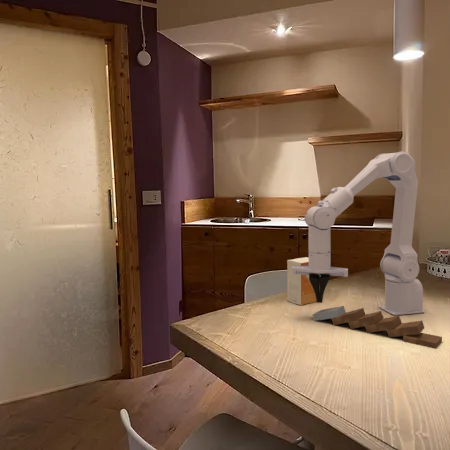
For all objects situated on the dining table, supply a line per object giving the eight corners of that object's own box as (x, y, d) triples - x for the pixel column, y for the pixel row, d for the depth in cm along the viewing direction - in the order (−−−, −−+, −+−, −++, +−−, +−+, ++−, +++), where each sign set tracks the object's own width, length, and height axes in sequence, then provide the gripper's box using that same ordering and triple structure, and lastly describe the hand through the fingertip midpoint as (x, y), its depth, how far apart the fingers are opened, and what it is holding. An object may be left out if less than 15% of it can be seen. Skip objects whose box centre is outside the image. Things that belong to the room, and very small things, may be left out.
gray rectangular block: (323, 316, 118) (345, 312, 114) (314, 321, 115) (337, 317, 110) (321, 309, 118) (343, 305, 114) (312, 314, 115) (335, 310, 110)
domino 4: (395, 331, 105) (424, 328, 101) (389, 337, 101) (419, 333, 97) (392, 324, 105) (422, 320, 101) (386, 329, 102) (416, 326, 97)
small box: (301, 305, 128) (300, 262, 127) (286, 301, 133) (286, 259, 132) (320, 301, 133) (320, 259, 131) (306, 296, 138) (305, 256, 136)
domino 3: (375, 327, 108) (401, 322, 104) (367, 333, 105) (394, 328, 100) (372, 320, 109) (399, 315, 104) (364, 325, 105) (391, 320, 101)
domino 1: (342, 320, 114) (365, 314, 110) (333, 325, 111) (357, 319, 106) (340, 314, 115) (363, 307, 110) (331, 318, 111) (354, 312, 107)
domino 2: (359, 324, 111) (383, 317, 107) (350, 329, 108) (376, 323, 103) (356, 317, 112) (380, 310, 107) (348, 322, 108) (373, 315, 103)
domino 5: (409, 337, 103) (441, 344, 98) (402, 343, 99) (435, 351, 94) (410, 330, 102) (441, 336, 98) (403, 336, 99) (435, 343, 94)
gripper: (348, 249, 116) (348, 299, 117) (294, 248, 120) (294, 296, 122) (347, 254, 109) (347, 306, 111) (290, 252, 114) (290, 303, 115)
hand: (319, 301), depth 116 cm, fingers closed
